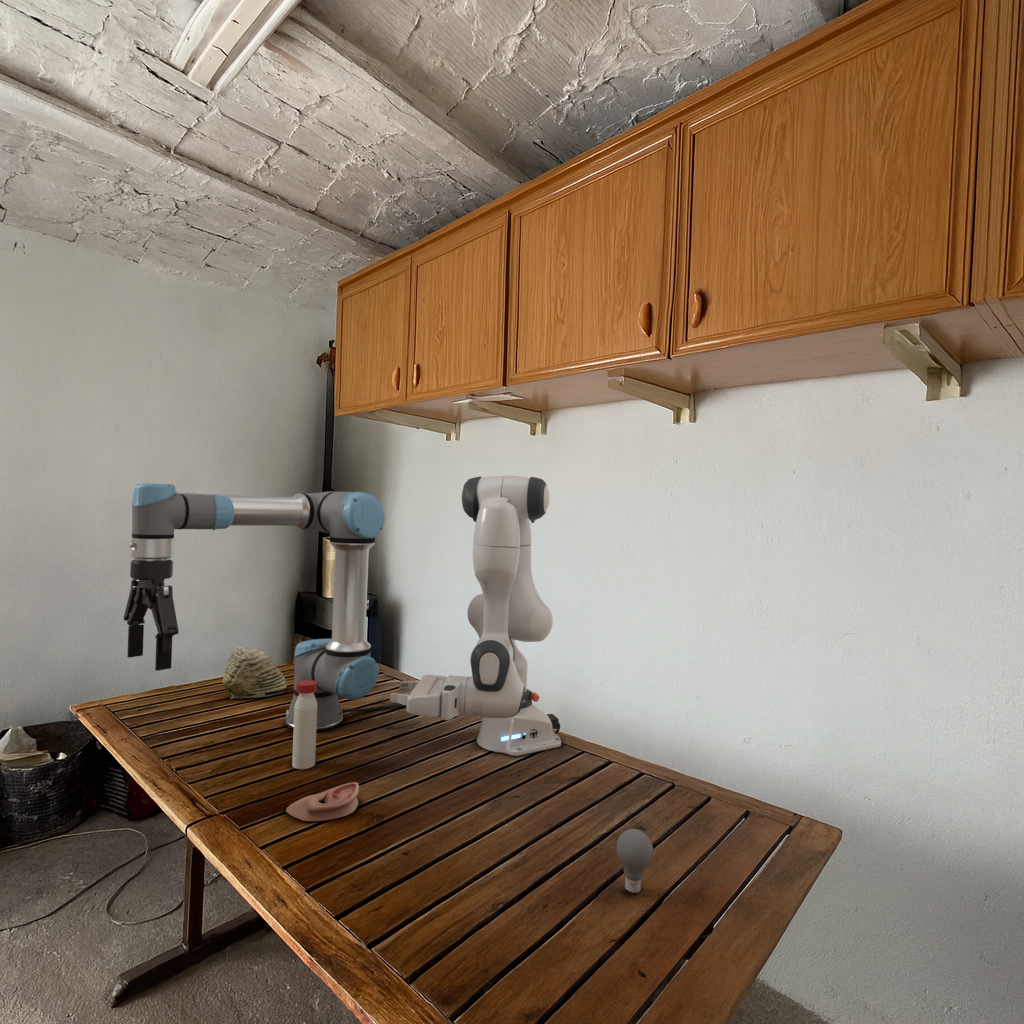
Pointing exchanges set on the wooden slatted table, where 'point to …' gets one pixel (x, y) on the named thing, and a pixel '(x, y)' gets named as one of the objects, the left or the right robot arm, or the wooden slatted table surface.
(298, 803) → the anatomical model
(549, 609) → the right robot arm
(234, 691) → the fossil
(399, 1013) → the wooden slatted table surface
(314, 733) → the bottle
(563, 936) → the wooden slatted table surface
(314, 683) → the cap
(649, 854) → the light bulb
